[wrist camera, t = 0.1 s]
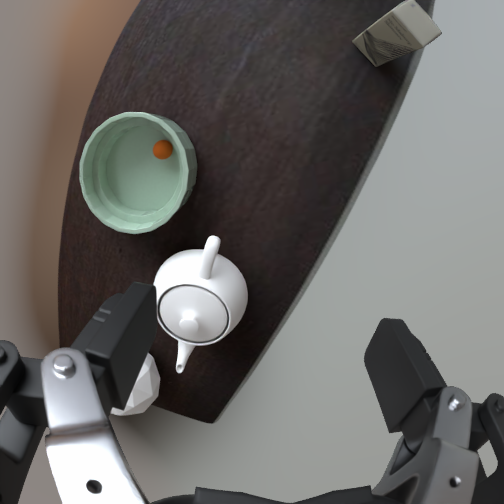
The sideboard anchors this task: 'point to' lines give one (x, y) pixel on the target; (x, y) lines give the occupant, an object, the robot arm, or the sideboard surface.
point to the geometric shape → (142, 389)
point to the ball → (162, 149)
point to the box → (397, 33)
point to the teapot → (199, 297)
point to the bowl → (136, 172)
